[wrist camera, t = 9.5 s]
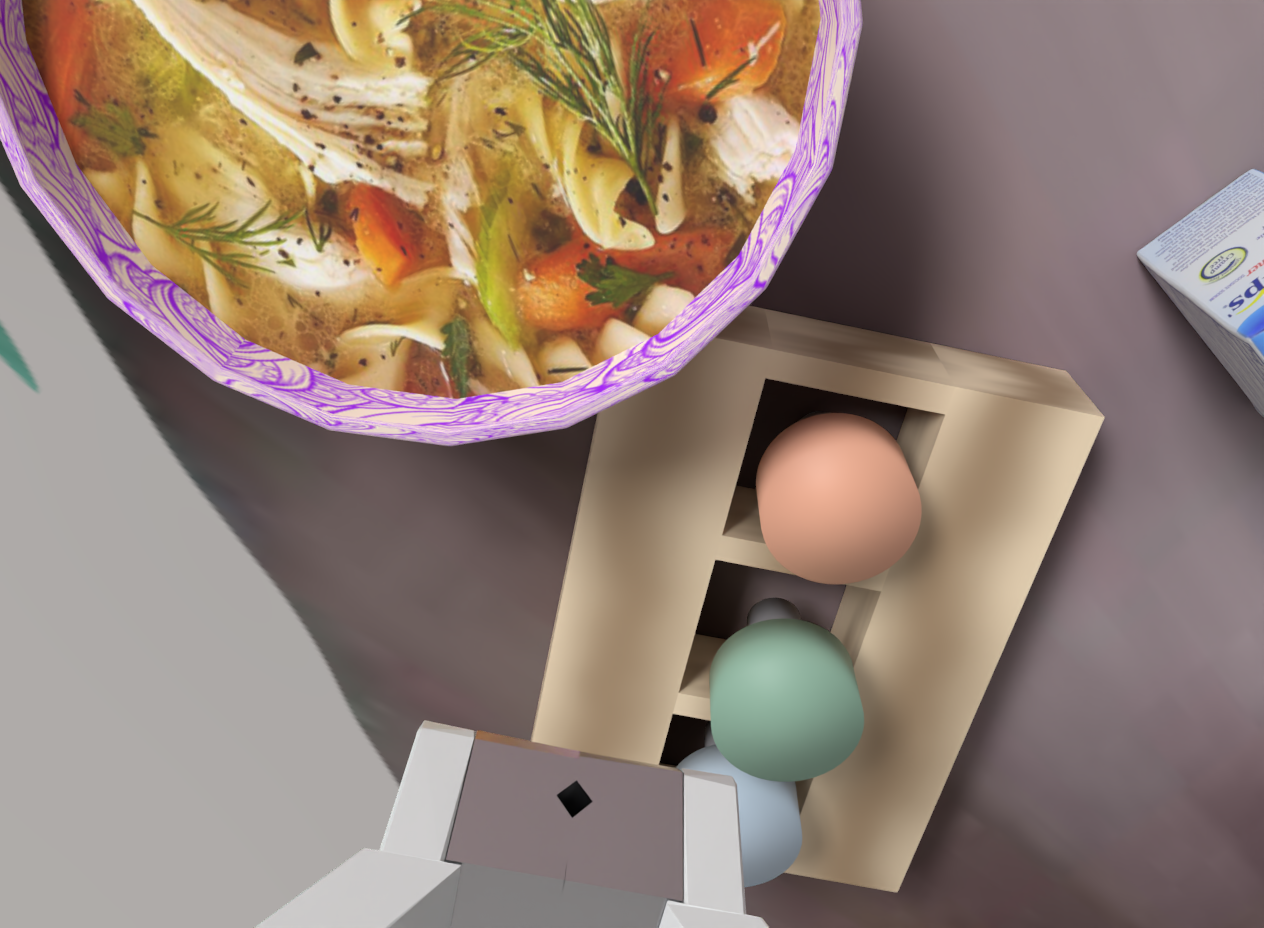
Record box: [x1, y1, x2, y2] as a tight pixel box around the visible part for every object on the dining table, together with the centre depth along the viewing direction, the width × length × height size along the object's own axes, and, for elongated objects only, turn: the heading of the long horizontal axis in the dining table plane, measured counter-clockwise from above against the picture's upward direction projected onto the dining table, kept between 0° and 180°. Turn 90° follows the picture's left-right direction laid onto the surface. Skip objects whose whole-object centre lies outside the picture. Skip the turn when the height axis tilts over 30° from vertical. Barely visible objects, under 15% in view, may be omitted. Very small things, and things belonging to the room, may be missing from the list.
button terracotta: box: [756, 411, 922, 584], centre depth 37 cm, size 5×5×6 cm
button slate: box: [676, 721, 802, 887], centre depth 43 cm, size 5×5×6 cm
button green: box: [709, 598, 864, 782], centre depth 39 cm, size 5×5×6 cm
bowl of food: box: [0, 0, 863, 446], centre depth 29 cm, size 20×20×12 cm
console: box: [531, 306, 1105, 892], centre depth 42 cm, size 16×22×4 cm
